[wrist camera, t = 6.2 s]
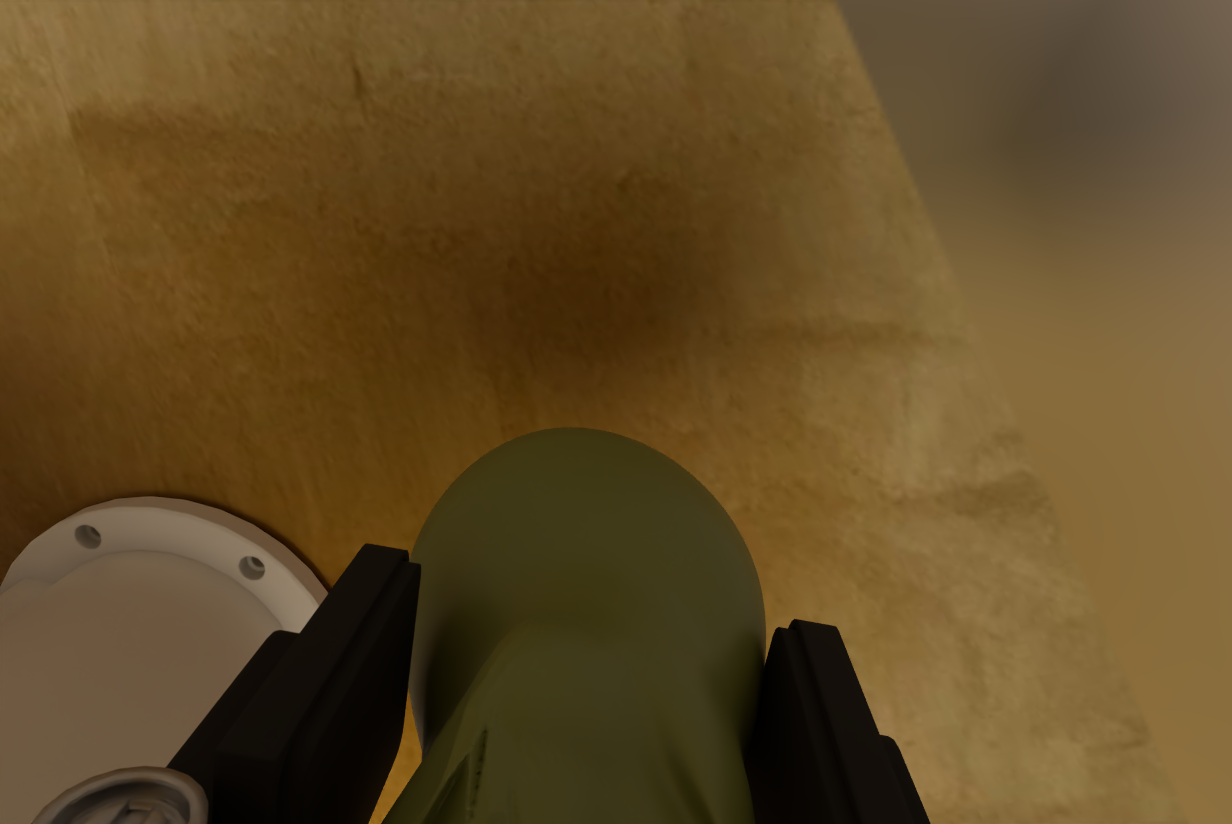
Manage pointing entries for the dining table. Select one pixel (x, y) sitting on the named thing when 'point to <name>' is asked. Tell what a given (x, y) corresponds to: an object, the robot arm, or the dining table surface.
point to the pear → (582, 642)
